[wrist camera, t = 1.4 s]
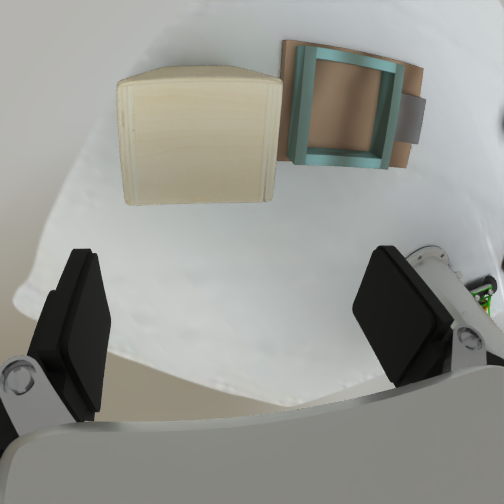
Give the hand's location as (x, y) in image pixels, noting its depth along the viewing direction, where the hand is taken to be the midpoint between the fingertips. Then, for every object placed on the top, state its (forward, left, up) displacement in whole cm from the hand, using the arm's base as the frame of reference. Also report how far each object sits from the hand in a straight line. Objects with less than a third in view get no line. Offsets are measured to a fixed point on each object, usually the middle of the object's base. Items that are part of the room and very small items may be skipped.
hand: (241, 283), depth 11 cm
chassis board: (-17, -2, -28) cm, 33 cm away
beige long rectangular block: (+1, -2, -28) cm, 28 cm away
